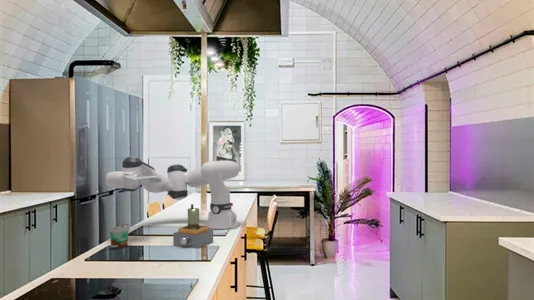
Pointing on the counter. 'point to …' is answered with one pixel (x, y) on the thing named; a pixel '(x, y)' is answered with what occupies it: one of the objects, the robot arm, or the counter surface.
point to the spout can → (193, 218)
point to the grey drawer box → (193, 237)
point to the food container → (119, 236)
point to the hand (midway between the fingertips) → (155, 181)
